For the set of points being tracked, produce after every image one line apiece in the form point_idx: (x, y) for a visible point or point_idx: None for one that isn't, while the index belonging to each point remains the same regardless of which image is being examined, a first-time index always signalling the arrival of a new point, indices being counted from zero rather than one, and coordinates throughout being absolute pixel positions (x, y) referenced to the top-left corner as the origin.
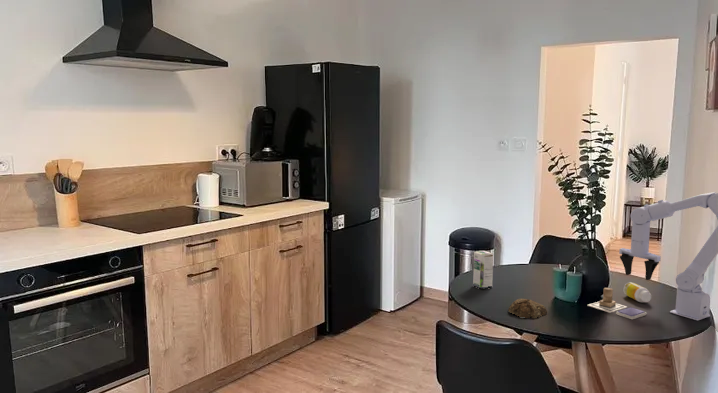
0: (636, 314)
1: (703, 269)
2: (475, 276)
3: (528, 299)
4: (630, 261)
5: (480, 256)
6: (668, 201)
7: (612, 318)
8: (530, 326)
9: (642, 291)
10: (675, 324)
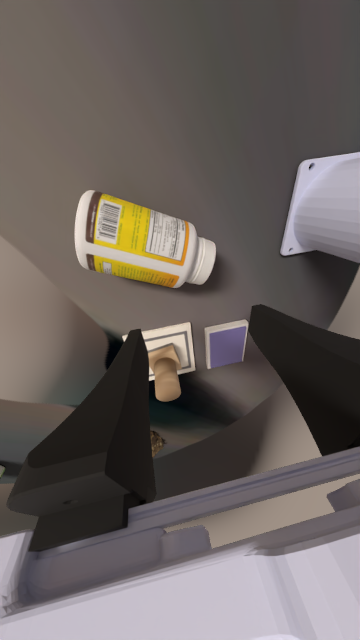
0: (242, 350)
1: None
2: None
3: None
4: (136, 414)
5: None
6: None
7: (216, 378)
8: (182, 447)
9: (194, 275)
10: (310, 307)
